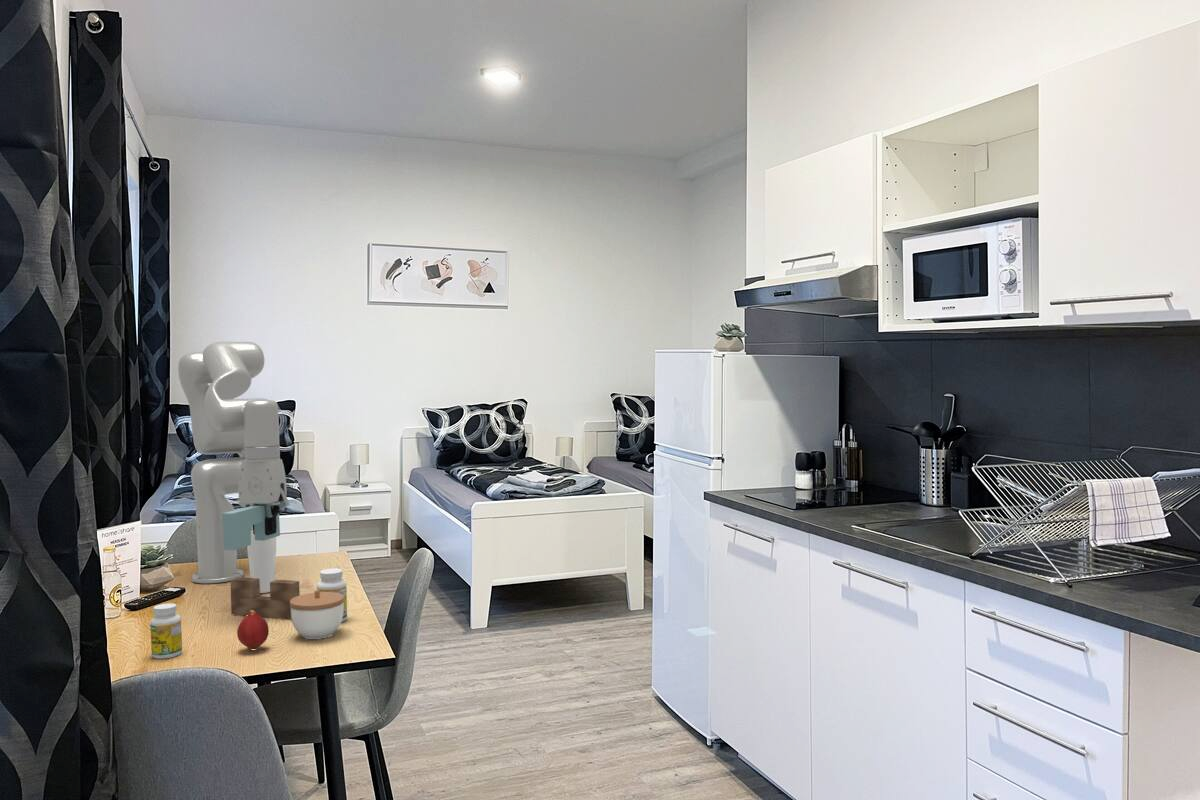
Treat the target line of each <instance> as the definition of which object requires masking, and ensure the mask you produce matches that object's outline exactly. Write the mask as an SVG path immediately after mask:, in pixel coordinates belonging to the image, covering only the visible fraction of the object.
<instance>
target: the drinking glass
mask: <svg viewBox="0 0 1200 800" xmlns="http://www.w3.org/2000/svg"><path fill="white" fill-rule="evenodd" d="M246 548H247V549H246V550H247V558H248V559H247V560H248V568H249V574H250V577H249V578H259V579H260V593H263V594H269V593H270V582H272V581H274V580H275V575H276V573H275V571H276V569H275V568H276V560H277V559H276V558H277V557H276V555H277V537H274V538H271V539H268V540H265V541H261V540H255V535H254V534H253V530H251V545H249V546H246ZM268 592H269V593H268Z"/></svg>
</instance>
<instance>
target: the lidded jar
mask: <svg viewBox="0 0 1200 800" xmlns="http://www.w3.org/2000/svg"><path fill="white" fill-rule="evenodd" d="M290 607H291V618H292V619H291V621H292V625H293V628H294V629H295V631H296V632H297V633H298V634H299V635H301V636H302V638H303V639H304V638H305V639H304V640H308V639H318V640H322V639H321V638H324V639H327V638H326V637H328V638H330V637H329V636H331V635H332V636H334V633H335V632H336V631H337V630H338V629H339V628H340V625H341V624H342V622H341V621H342V618H343V612H344V596H343V595H342V594H340V593H336V592H320V590H317V589H314V592H309V593H303V594H300V595H299V596H296V597H294V598H292V599H291V600H290ZM332 636H331V637H332Z"/></svg>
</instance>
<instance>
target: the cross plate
mask: <svg viewBox="0 0 1200 800" xmlns="http://www.w3.org/2000/svg"><path fill="white" fill-rule="evenodd" d="M278 504H280V502H278ZM272 509H273V507H272ZM265 518H267V511H266V505H262V504H257V505H253V506H249V507H245V508H244V507H242V508H237V509H235V510H233V511H229V512H226V513H222V519H223V542H224V550H236V549H237V550H239V549H242V548H247V546H249V545H251V531H252V530H251V526H253V525H254V533H255V540H261V541H265V540H268V539H271V538H274V537H276V538H277V537H281V526H280V525H281V524H280V514H279V515H278V516H276V523H277V529H276V533H275V534H271V535H266V534H265Z"/></svg>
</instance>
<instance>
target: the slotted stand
mask: <svg viewBox="0 0 1200 800" xmlns="http://www.w3.org/2000/svg"><path fill="white" fill-rule="evenodd" d="M229 582H230V584H229V585H230V611H231V612H230V614H234V615H233V616H237V615H249V613H248V612H250V611H251V610H254V611H255V612H256V613H257V614H258V615H260V616H262V617H263V618H265V617H271V618H270V619H278V618H282V619H281V620H292V618H291V607H290V600H291V599H292V598H294V597H296V596H299V595H301V594H300V592H301V591H300V580H291V579H290V580H289V579H274V581H272V582H270V592H269V596H267V595H266V596H264V595H261V594H260V579H259V578H251V577H244V576H243V577H237V578H234V579H231V580H230V581H229Z"/></svg>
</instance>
